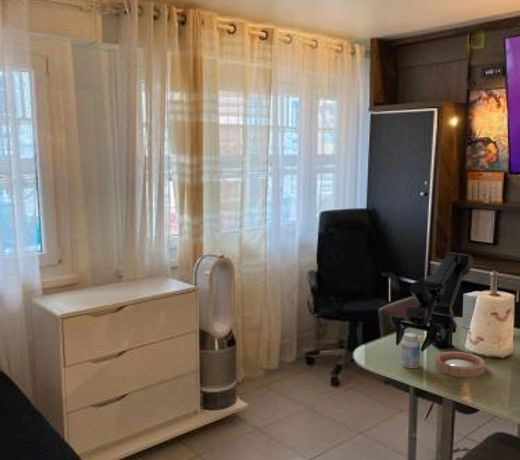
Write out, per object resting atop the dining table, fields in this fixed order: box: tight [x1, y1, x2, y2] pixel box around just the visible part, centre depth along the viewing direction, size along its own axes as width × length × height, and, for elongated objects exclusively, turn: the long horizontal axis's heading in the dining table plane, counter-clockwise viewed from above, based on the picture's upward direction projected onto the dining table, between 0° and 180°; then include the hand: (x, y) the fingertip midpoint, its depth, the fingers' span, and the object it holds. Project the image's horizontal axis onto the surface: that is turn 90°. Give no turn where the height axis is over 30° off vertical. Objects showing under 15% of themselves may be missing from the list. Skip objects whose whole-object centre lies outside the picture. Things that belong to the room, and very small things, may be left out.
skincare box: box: [461, 290, 481, 330], centre depth 224 cm, size 8×6×15 cm
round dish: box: [433, 350, 486, 378], centre depth 183 cm, size 16×16×3 cm
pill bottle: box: [401, 331, 421, 369], centre depth 185 cm, size 6×6×11 cm
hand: (409, 347), depth 184 cm, fingers open, 9 cm apart
